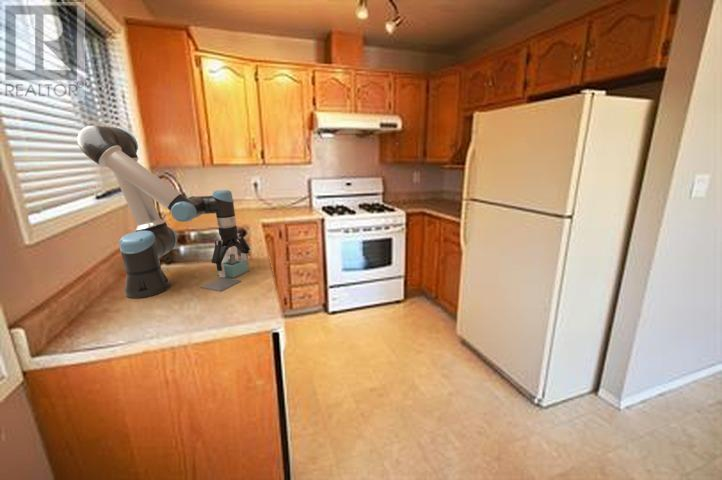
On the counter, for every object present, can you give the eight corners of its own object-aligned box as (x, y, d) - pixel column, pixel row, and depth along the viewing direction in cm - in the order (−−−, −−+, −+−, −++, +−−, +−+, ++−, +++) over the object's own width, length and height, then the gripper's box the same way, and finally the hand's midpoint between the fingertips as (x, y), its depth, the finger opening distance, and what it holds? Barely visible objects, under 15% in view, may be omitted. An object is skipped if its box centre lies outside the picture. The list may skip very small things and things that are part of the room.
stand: (216, 276, 143) (213, 257, 141) (233, 269, 152) (231, 250, 150) (234, 279, 139) (231, 259, 137) (250, 271, 148) (247, 252, 146)
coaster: (200, 288, 130) (200, 286, 130) (221, 279, 140) (221, 277, 140) (221, 292, 126) (220, 290, 126) (241, 282, 136) (241, 280, 136)
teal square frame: (218, 275, 143) (216, 264, 142) (233, 268, 151) (232, 258, 150) (233, 277, 140) (232, 267, 139) (248, 270, 148) (247, 260, 147)
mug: (241, 265, 156) (238, 242, 153) (222, 269, 152) (218, 244, 149) (237, 259, 166) (234, 236, 163) (219, 262, 162) (216, 239, 159)
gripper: (210, 233, 127) (218, 283, 133) (254, 220, 150) (259, 263, 155) (196, 232, 130) (205, 280, 136) (241, 219, 153) (247, 262, 158)
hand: (234, 272), depth 146 cm, fingers open, 13 cm apart
